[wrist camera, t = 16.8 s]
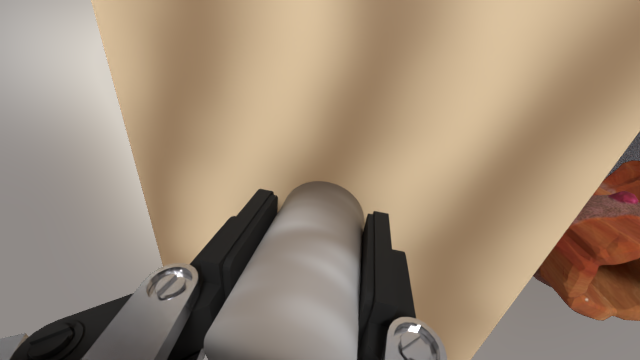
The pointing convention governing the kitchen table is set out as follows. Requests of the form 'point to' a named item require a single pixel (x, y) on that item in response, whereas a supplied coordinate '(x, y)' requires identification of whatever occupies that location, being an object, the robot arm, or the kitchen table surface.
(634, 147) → the kitchen table surface
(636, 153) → the kitchen table surface
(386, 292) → the robot arm
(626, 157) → the kitchen table surface
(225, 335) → the lid
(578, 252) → the mug
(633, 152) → the kitchen table surface
